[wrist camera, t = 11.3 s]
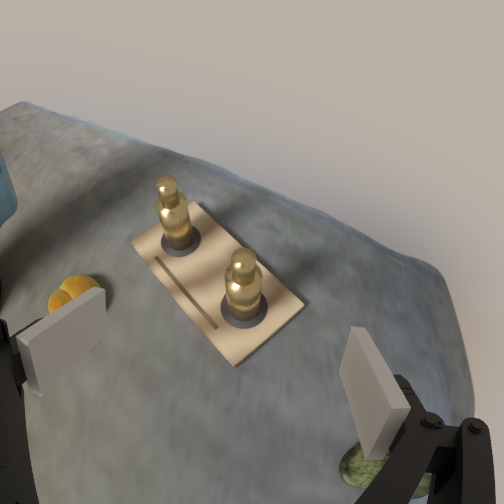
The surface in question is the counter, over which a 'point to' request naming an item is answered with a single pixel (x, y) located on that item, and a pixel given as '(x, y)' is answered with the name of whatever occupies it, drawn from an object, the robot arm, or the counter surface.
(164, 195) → the gold bottle
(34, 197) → the counter surface
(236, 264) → the brass bottle
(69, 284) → the bread roll
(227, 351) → the board
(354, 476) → the vegetable
